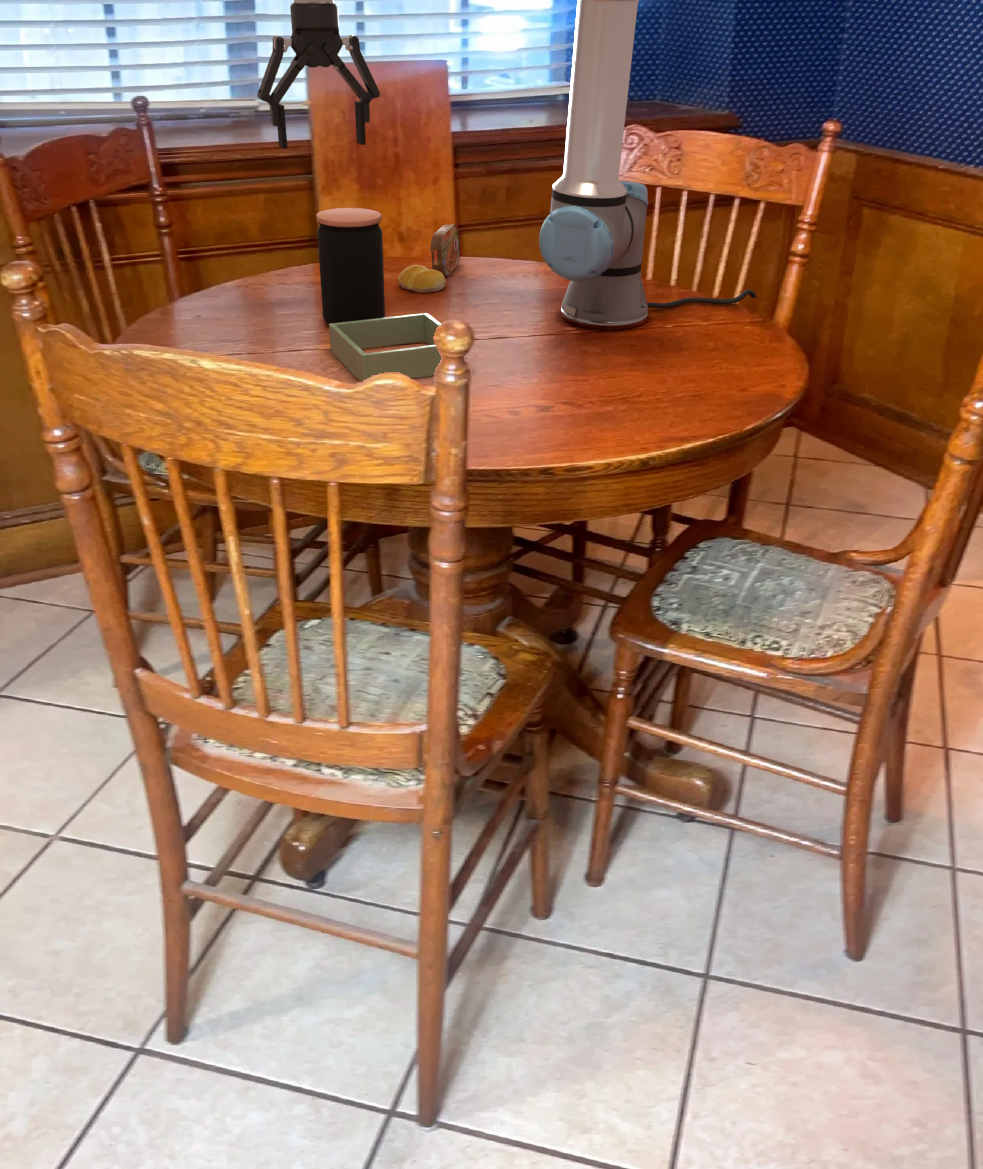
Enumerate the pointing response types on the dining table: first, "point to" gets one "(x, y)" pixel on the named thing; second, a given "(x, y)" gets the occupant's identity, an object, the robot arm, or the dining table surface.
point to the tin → (445, 249)
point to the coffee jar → (351, 264)
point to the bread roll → (421, 279)
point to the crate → (386, 333)
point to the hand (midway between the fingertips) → (322, 146)
